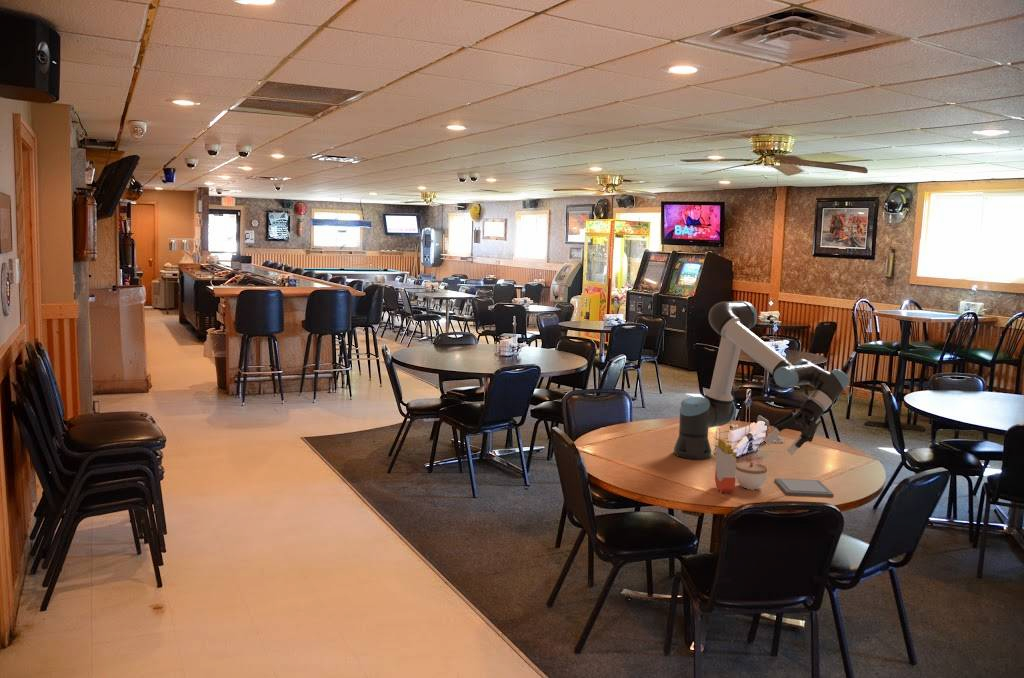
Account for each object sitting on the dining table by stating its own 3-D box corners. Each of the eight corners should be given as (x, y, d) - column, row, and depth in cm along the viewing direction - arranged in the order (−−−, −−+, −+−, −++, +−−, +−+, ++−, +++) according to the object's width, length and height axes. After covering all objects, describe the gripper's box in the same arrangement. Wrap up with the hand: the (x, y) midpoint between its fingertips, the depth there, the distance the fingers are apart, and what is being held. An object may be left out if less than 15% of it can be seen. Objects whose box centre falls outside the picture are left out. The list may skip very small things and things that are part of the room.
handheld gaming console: (785, 443, 343) (787, 421, 342) (765, 443, 343) (766, 421, 341) (774, 436, 356) (776, 414, 355) (755, 435, 356) (756, 414, 354)
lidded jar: (759, 494, 271) (761, 468, 270) (730, 487, 278) (731, 462, 276) (769, 486, 280) (771, 461, 279) (741, 480, 286) (742, 456, 285)
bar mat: (786, 494, 271) (786, 491, 271) (774, 480, 287) (774, 477, 287) (833, 496, 270) (833, 493, 270) (818, 482, 286) (818, 479, 286)
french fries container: (727, 485, 280) (729, 437, 278) (735, 495, 269) (738, 445, 267) (714, 485, 280) (717, 437, 278) (722, 495, 269) (725, 444, 267)
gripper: (844, 419, 271) (805, 463, 269) (799, 405, 295) (763, 445, 292) (833, 405, 269) (793, 449, 267) (788, 391, 293) (751, 432, 290)
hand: (777, 447), depth 279 cm, fingers open, 13 cm apart
